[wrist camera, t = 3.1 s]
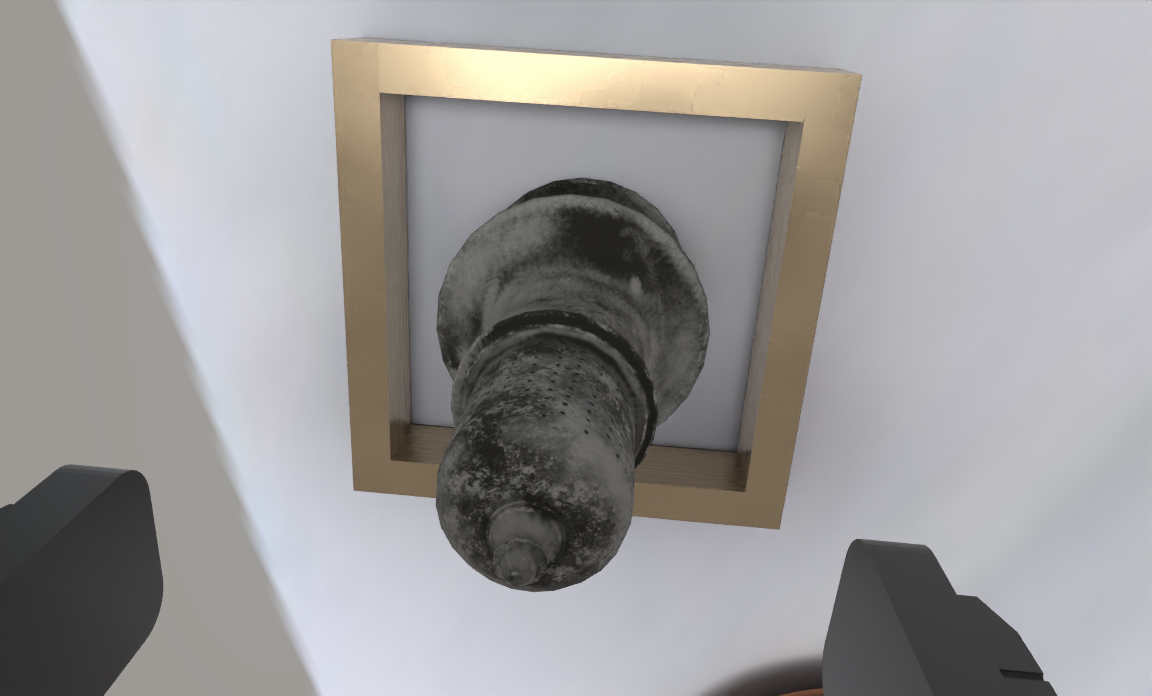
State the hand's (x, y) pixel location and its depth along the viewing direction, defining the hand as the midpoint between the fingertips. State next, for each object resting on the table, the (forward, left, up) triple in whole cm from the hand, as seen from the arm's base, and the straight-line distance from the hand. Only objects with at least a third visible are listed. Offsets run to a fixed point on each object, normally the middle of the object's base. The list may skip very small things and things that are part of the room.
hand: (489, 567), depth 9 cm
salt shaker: (0, 0, -12) cm, 12 cm away
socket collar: (0, 0, -12) cm, 12 cm away
